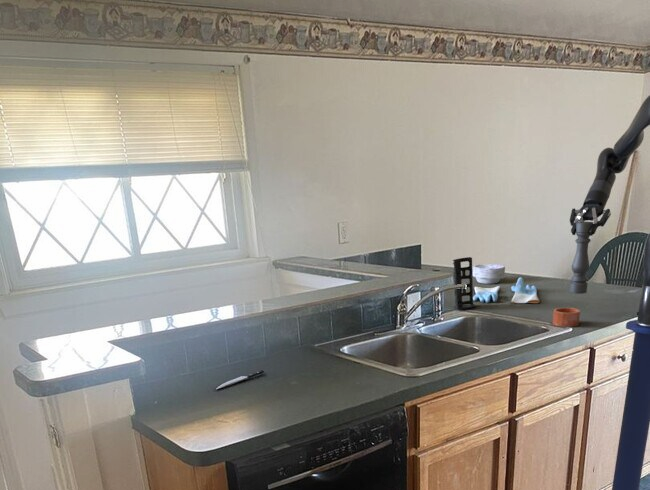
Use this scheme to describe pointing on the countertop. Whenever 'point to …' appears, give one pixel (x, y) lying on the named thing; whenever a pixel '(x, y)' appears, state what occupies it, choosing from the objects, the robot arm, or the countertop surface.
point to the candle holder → (581, 259)
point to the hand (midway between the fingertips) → (581, 233)
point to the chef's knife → (239, 379)
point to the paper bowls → (488, 273)
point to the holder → (458, 281)
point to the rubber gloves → (520, 291)
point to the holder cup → (566, 317)
